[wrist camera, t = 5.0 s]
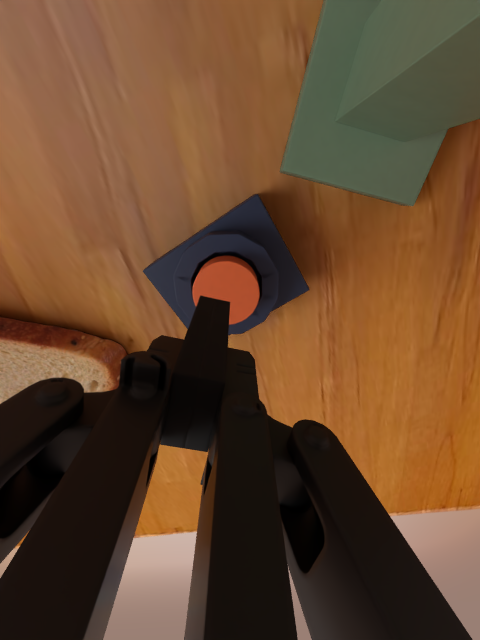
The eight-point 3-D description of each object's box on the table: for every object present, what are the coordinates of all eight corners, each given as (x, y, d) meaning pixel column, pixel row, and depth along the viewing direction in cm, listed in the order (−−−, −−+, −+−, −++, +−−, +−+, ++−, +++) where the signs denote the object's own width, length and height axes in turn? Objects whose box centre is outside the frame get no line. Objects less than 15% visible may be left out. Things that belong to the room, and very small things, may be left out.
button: (236, 242, 19) (236, 247, 17) (268, 295, 20) (271, 304, 19) (183, 276, 20) (178, 284, 18) (218, 324, 21) (216, 335, 20)
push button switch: (255, 193, 21) (259, 193, 17) (302, 280, 24) (316, 297, 20) (151, 262, 24) (134, 277, 19) (206, 335, 26) (200, 361, 22)
